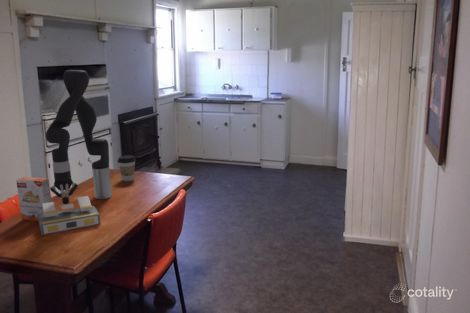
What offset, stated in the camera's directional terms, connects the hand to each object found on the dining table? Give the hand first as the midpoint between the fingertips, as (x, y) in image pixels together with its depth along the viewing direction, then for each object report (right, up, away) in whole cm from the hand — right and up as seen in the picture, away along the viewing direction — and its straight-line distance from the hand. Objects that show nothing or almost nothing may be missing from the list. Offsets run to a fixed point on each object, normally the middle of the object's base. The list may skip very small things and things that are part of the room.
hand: (65, 204), depth 221 cm
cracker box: (-16, -8, +4) cm, 18 cm away
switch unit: (+3, -9, -4) cm, 11 cm away
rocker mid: (+2, -1, -4) cm, 5 cm away
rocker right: (+9, -1, 0) cm, 9 cm away
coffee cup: (+14, +8, +69) cm, 71 cm away
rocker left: (-5, -3, -7) cm, 9 cm away
